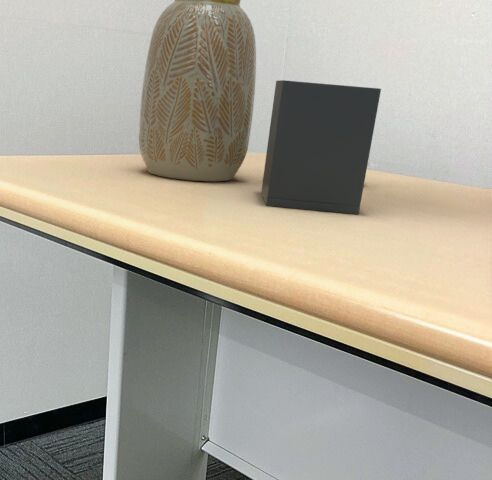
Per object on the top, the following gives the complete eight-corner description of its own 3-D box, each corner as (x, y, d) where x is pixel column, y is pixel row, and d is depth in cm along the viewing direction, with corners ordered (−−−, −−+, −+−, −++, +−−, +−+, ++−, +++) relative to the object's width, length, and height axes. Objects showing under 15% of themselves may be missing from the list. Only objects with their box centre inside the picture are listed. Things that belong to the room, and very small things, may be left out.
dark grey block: (358, 214, 94) (381, 88, 89) (266, 205, 95) (283, 80, 90) (344, 200, 105) (363, 88, 100) (261, 193, 106) (276, 80, 101)
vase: (262, 179, 121) (287, -4, 112) (211, 187, 107) (234, -21, 98) (171, 165, 129) (187, -6, 120) (114, 171, 116) (126, -22, 106)
